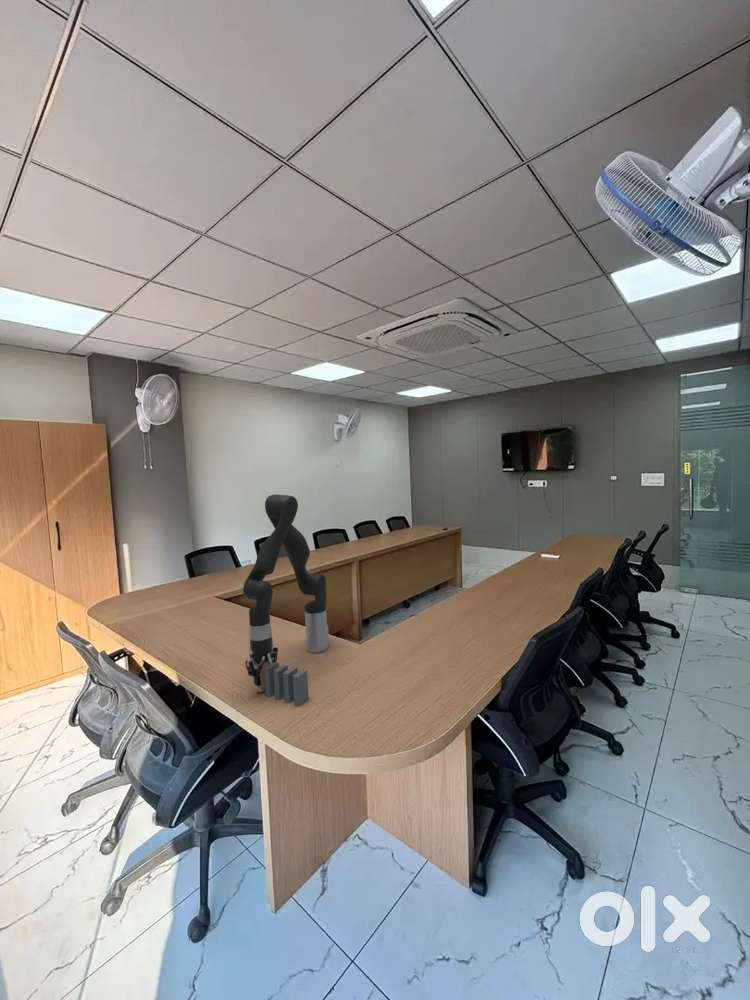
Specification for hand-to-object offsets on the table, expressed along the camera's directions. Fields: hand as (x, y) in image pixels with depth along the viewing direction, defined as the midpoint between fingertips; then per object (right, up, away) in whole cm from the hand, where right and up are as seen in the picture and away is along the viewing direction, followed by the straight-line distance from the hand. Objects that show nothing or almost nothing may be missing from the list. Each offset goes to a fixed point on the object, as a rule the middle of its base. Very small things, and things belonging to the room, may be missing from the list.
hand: (263, 681), depth 146 cm
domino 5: (+15, -3, -8) cm, 17 cm away
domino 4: (+11, -3, -6) cm, 13 cm away
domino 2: (+4, -3, -2) cm, 5 cm away
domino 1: (0, -2, 0) cm, 2 cm away
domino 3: (+8, -3, -4) cm, 9 cm away
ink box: (-5, -3, +17) cm, 18 cm away
